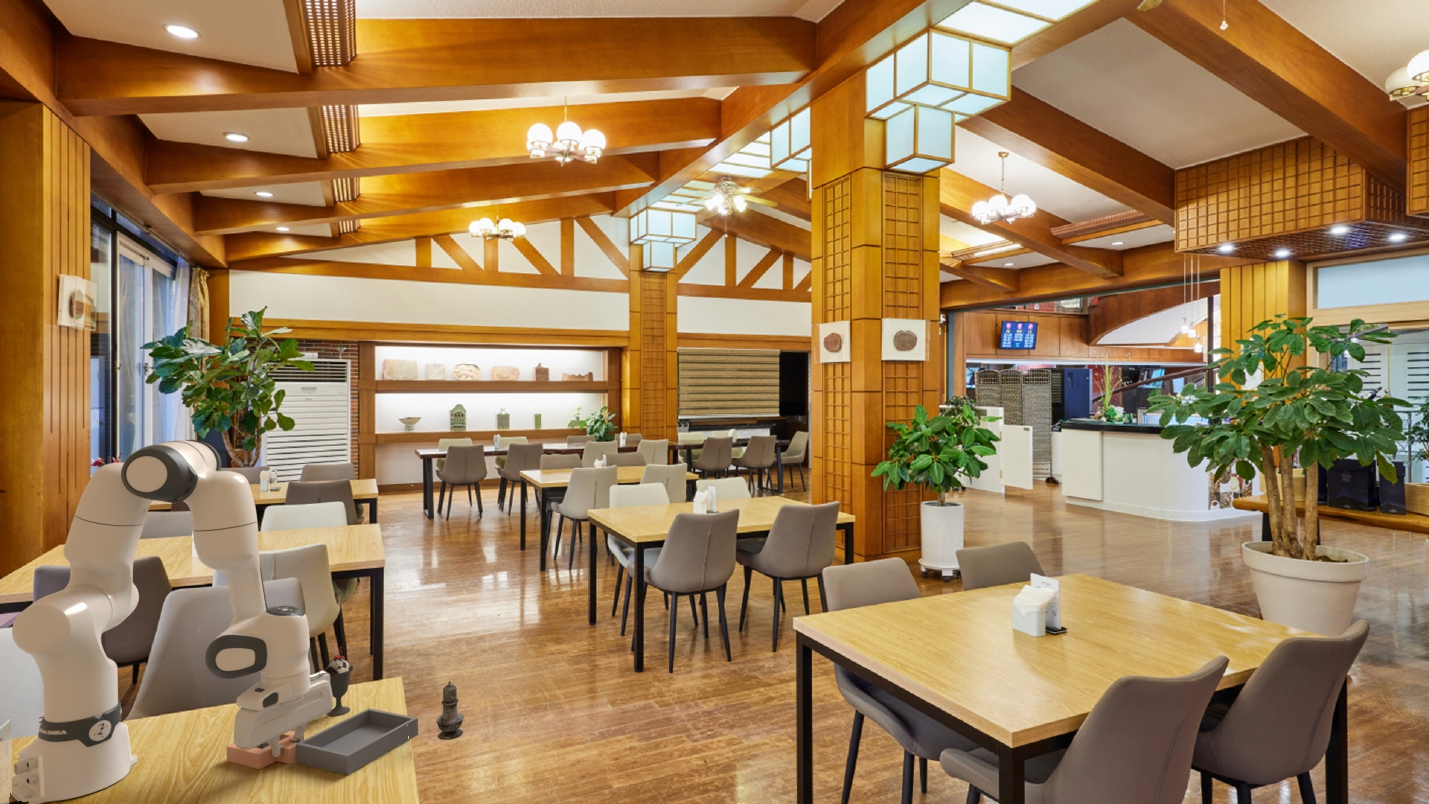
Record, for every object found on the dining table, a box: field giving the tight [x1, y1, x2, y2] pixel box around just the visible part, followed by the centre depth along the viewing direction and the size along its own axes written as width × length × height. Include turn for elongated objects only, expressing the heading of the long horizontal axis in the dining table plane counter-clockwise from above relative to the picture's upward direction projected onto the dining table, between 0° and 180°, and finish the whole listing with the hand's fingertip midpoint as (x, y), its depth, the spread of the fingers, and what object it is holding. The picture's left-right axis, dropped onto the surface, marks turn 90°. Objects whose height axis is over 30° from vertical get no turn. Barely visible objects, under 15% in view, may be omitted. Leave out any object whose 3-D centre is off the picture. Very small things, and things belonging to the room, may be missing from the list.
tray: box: [295, 707, 419, 776], centre depth 157 cm, size 15×19×4 cm
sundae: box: [323, 646, 354, 717], centre depth 176 cm, size 7×7×15 cm
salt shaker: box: [435, 680, 465, 741], centre depth 163 cm, size 6×6×12 cm
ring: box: [226, 730, 305, 770], centre depth 154 cm, size 14×10×3 cm
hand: (287, 751), depth 153 cm, fingers closed on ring, 3 cm apart
